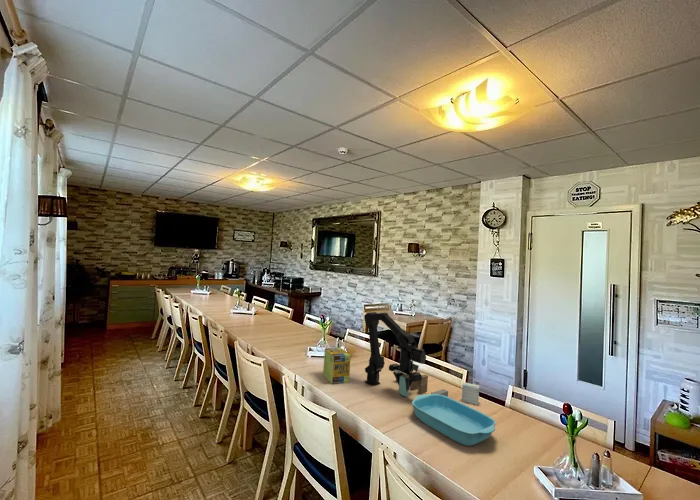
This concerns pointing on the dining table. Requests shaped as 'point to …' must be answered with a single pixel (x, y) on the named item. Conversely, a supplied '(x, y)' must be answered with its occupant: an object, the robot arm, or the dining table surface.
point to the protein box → (336, 365)
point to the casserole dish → (453, 418)
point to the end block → (441, 392)
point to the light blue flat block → (403, 386)
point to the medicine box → (470, 393)
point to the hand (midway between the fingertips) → (403, 388)
